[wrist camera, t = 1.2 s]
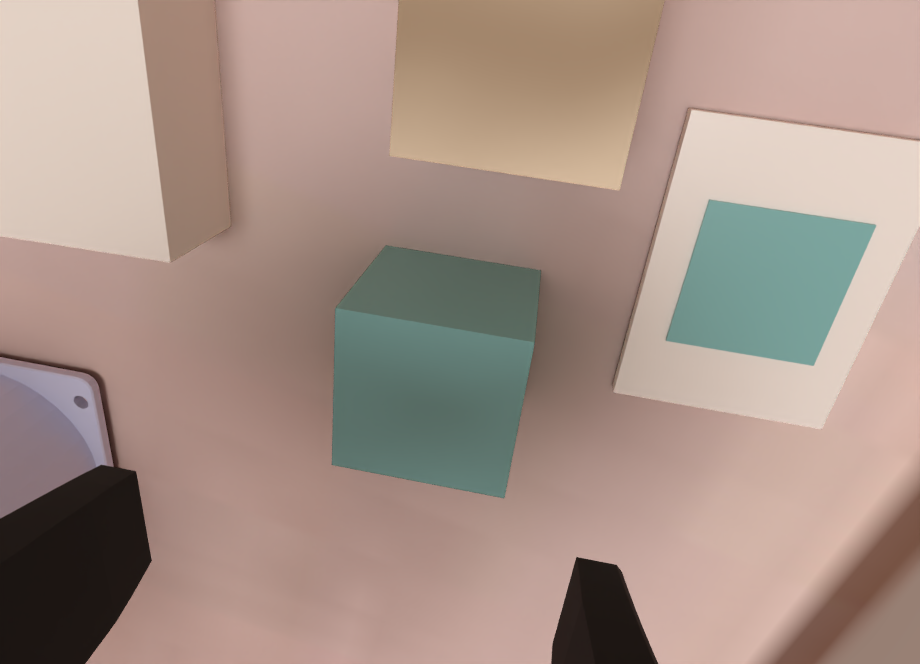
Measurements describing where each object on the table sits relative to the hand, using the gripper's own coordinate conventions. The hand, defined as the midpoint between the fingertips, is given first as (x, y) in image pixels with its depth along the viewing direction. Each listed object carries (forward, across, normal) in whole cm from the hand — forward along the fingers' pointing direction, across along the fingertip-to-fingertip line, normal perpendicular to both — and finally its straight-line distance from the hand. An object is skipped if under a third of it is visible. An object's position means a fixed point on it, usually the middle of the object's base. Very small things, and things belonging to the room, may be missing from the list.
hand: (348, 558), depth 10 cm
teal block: (+10, 0, 0) cm, 10 cm away
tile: (+9, -8, -2) cm, 13 cm away
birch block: (+10, -1, -8) cm, 12 cm away
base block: (+10, +11, -6) cm, 16 cm away
